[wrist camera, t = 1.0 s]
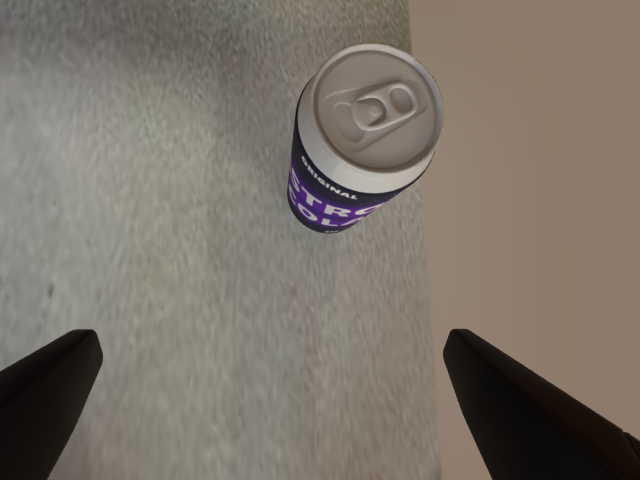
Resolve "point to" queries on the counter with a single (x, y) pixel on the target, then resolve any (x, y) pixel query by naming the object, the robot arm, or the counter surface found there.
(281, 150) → the counter surface
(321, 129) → the beverage can
